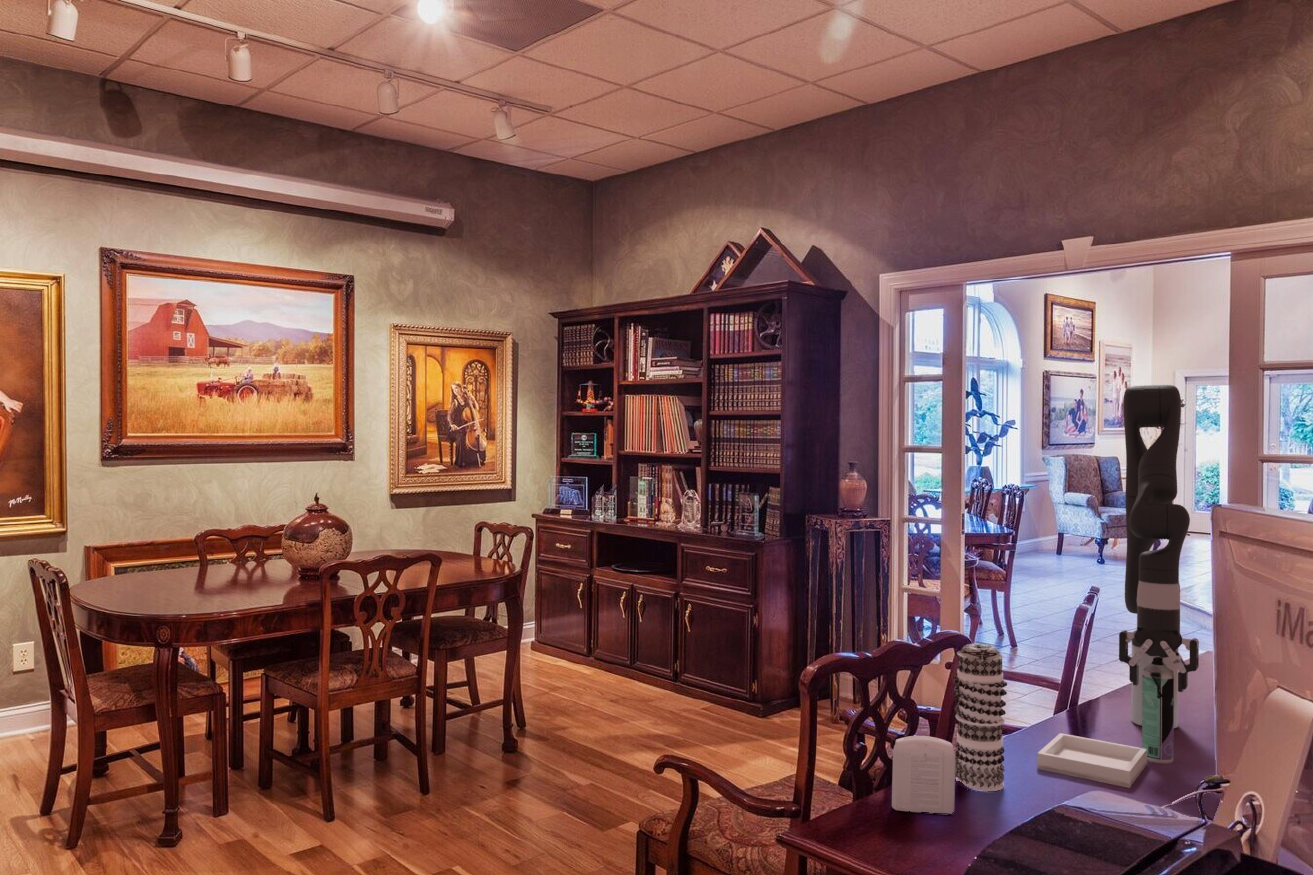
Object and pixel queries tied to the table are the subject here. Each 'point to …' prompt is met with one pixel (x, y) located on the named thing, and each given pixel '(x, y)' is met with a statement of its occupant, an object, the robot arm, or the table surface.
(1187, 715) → the table surface
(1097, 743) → the tray
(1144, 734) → the spray can
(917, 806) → the white rounded block
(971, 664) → the decorative candle
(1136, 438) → the robot arm
